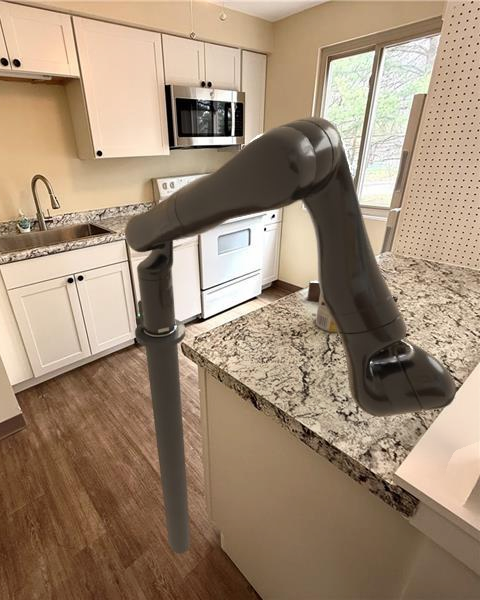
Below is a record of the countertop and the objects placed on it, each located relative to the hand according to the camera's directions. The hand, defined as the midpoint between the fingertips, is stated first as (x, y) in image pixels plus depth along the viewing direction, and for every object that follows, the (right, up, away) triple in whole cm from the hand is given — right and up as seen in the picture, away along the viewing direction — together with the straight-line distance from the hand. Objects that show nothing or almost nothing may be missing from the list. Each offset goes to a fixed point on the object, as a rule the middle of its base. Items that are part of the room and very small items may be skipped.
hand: (349, 283), depth 68 cm
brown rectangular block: (+10, -4, +26) cm, 29 cm away
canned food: (+5, -10, +14) cm, 18 cm away
